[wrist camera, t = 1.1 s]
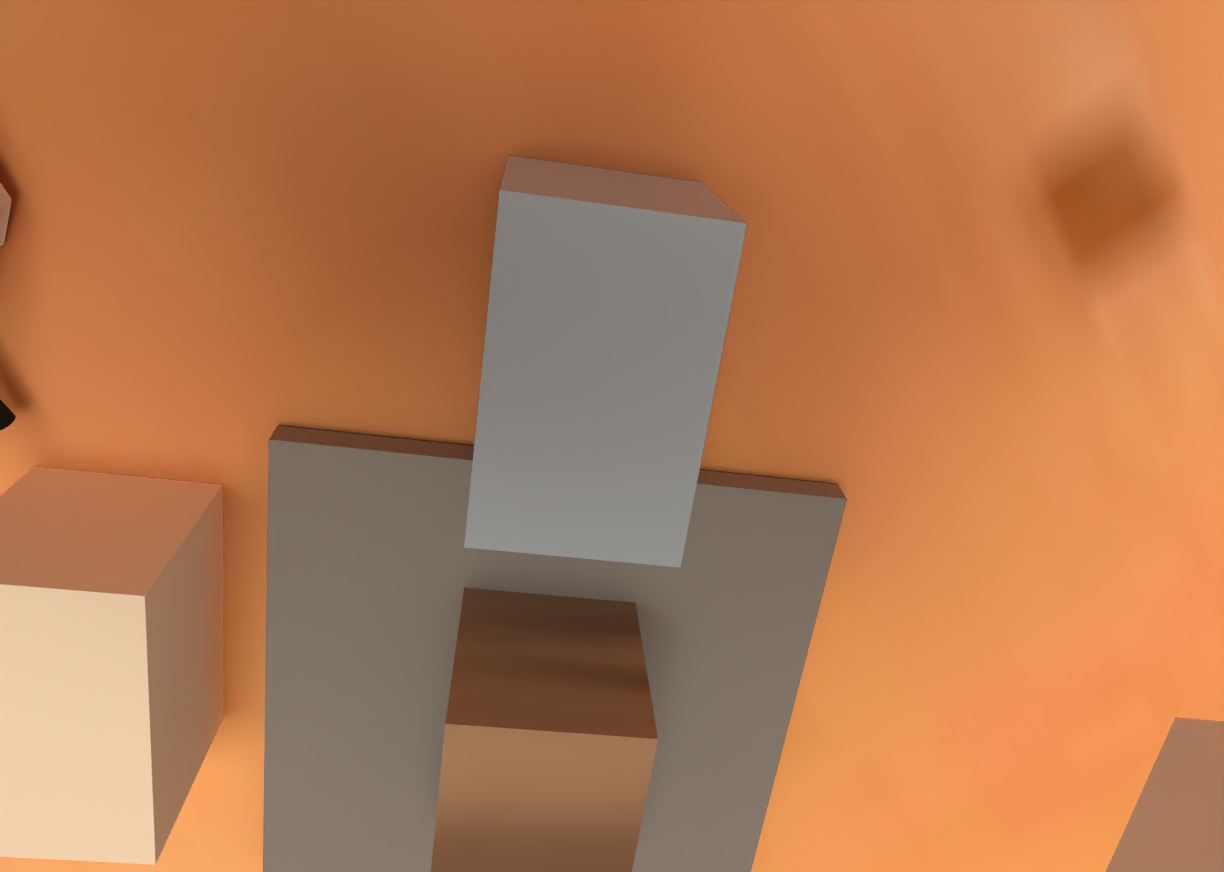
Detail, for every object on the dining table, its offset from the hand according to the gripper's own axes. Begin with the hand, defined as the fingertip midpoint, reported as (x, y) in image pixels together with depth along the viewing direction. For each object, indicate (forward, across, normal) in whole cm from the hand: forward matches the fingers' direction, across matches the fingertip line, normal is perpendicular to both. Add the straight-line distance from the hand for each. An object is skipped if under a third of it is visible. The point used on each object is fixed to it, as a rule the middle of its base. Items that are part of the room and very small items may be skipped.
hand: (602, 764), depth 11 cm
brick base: (+16, +1, -12) cm, 20 cm away
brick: (+17, -11, -10) cm, 23 cm away
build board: (+17, +1, -12) cm, 20 cm away
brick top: (+17, 0, 0) cm, 17 cm away
